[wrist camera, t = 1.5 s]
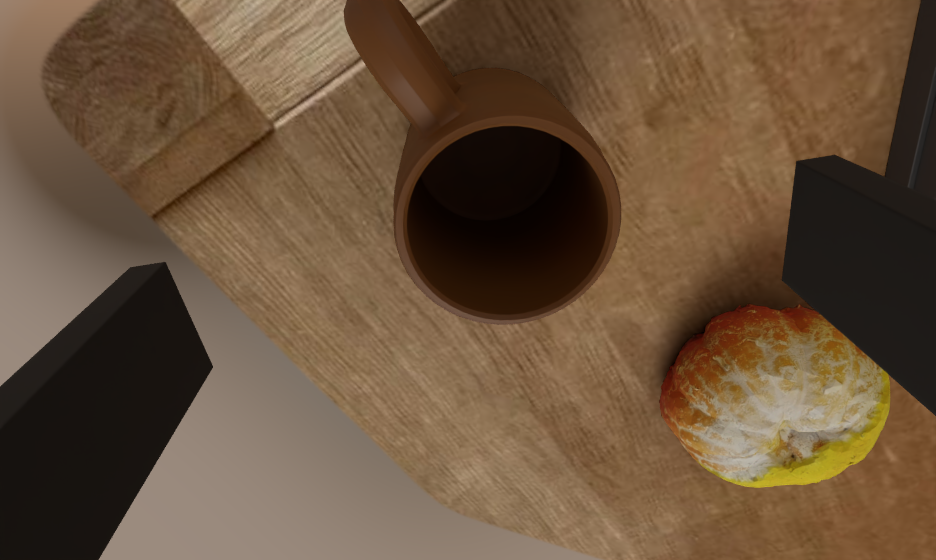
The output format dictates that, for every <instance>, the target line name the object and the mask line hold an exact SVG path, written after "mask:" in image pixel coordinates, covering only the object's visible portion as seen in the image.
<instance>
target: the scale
mask: <svg viewBox="0 0 936 560" xmlns="http://www.w3.org/2000/svg"><path fill="white" fill-rule="evenodd" d="M885 177H886V178H888V179H890V180H893V181H895V182H897V183H899V184H902V185H904V186H906V187H909V188H911V189H913V190H915V191H918V192H920V193H922V194H924V195H927V196H929V197H931V198H933V199H936V0H922V1H921V6H920V10H919V15H918V20H917V25H916V30H915V34H914V39H913V44H912V49H911V54H910V58H909V63H908V68H907V73H906V78H905V82H904V87H903V92H902V97H901V102H900V106H899V111H898V116H897V121H896V126H895V131H894V135H893V140H892V145H891V150H890V155H889V159H888V164H887V169H886V174H885Z"/></svg>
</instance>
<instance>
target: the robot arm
mask: <svg viewBox="0 0 936 560" xmlns="http://www.w3.org/2000/svg"><path fill="white" fill-rule="evenodd" d="M782 281H783V282H784V283H785V284H787V285H788V286H789V287H790V288H791V289H792V290H793V291H794V292H796V293H797V294H798V295H799V296H800V297H801V298H802V299H804V300H805V301H806V302H807V303H808V304H809V305H810V306H811V307H813V308H814V309H815V310H816V311H817V312H818V313H819V314H821V315H822V316H823V317H824V318H825V319H826V320H827V321H828V322H830V323H831V324H832V325H833V326H834V327H835V328H836V329H838V330H839V331H840V332H841V333H842V334H843V335H844V336H846V337H847V338H848V339H849V340H850V341H851V342H852V343H853V344H855V345H856V346H857V347H858V348H859V349H860V350H861V351H863V352H864V353H865V354H866V355H867V356H868V357H869V358H870V359H872V360H873V361H874V362H875V363H876V364H877V365H878V366H880V367H881V368H882V369H883V370H884V371H885V372H886V373H888V374H889V375H890V376H891V377H892V378H893V379H894V380H895V381H897V382H898V383H899V384H900V385H901V386H902V387H903V388H905V389H906V390H907V391H908V392H909V393H910V394H911V395H912V396H914V397H915V398H916V399H917V400H918V401H919V402H920V403H922V404H923V405H924V406H925V407H926V408H927V409H928V410H929V411H931V412H932V413H933V414H934V415H935V416H936V199H933V198H931V197H929V196H927V195H924V194H922V193H920V192H918V191H915V190H913V189H911V188H909V187H906V186H904V185H902V184H899V183H897V182H895V181H893V180H890V179H888V178H886V177H884V176H881V175H879V174H877V173H875V172H872V171H870V170H868V169H866V168H863V167H861V166H859V165H857V164H854V163H852V162H850V161H847V160H845V159H843V158H841V157H838V156H836V155H831V156H825V157H819V158H813V159H806V160H800V161H796V169H795V177H794V185H793V193H792V201H791V209H790V217H789V225H788V234H787V242H786V250H785V258H784V266H783V274H782ZM212 368H213V366H212V363H211V361H210V359H209V357H208V354H207V352H206V350H205V348H204V346H203V343H202V341H201V339H200V337H199V335H198V332H197V330H196V328H195V326H194V324H193V322H192V319H191V317H190V315H189V313H188V311H187V308H186V306H185V304H184V302H183V299H182V297H181V295H180V293H179V291H178V289H177V286H176V284H175V282H174V280H173V278H172V275H171V273H170V271H169V269H168V267H167V264H166V262H162V263H155V264H150V265H143V266H136V267H130V268H129V269H128V270H127V271H126V272H125V273H124V274H123V275H121V276H120V277H119V278H118V279H117V280H116V281H115V282H114V283H113V284H112V285H111V286H109V287H108V288H107V289H106V290H105V291H104V292H103V293H102V294H101V295H100V296H99V297H97V298H96V299H95V300H94V301H93V302H92V303H91V304H90V305H89V306H88V307H87V308H85V309H84V310H83V311H82V312H81V313H80V314H79V315H78V316H77V317H76V318H75V319H73V320H72V321H71V322H70V323H69V324H68V325H67V326H66V327H65V328H64V329H62V330H61V331H60V332H59V333H58V334H57V335H56V336H55V337H54V338H53V339H52V340H50V342H49V343H47V344H46V345H45V346H44V347H43V348H42V349H41V350H40V351H39V352H37V353H36V354H35V355H34V356H33V357H32V358H31V359H30V360H29V361H28V362H27V363H25V364H24V365H23V366H22V367H21V368H20V369H19V370H18V371H17V372H16V373H14V375H12V376H11V377H10V378H9V379H8V380H7V381H6V382H5V383H4V384H3V385H1V386H0V560H99V558H100V556H101V555H102V553H103V551H104V550H105V548H106V546H107V544H108V543H109V541H110V539H111V538H112V536H113V534H114V533H115V531H116V529H117V528H118V526H119V524H120V523H121V521H122V519H123V517H124V516H125V514H126V512H127V511H128V509H129V508H130V506H131V504H132V502H133V501H134V499H135V497H136V496H137V494H138V492H139V491H140V489H141V487H142V486H143V484H144V482H145V481H146V479H147V477H148V476H149V474H150V472H151V471H152V469H153V467H154V465H155V464H156V462H157V460H158V459H159V457H160V455H161V454H162V452H163V450H164V448H165V447H166V445H167V444H168V442H169V440H170V439H171V437H172V435H173V434H174V432H175V430H176V428H177V427H178V425H179V423H180V422H181V420H182V418H183V417H184V415H185V413H186V412H187V410H188V408H189V407H190V405H191V403H192V402H193V400H194V398H195V397H196V395H197V393H198V392H199V390H200V388H201V386H202V385H203V383H204V381H205V380H206V378H207V376H208V375H209V373H210V371H211V370H212Z"/></svg>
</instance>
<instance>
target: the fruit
mask: <svg viewBox="0 0 936 560" xmlns="http://www.w3.org/2000/svg"><path fill="white" fill-rule="evenodd" d="M663 382H664V383H663V384H662V386H661V389H662V393H661V397H660V400H659V403H660V410H661V416H662V417H663V418H664V420H665V422H666V423H667V425H668V426H669V427H670V429H671V430H672V431H673V433H674V434H675V435H676V436H677V437H678V439H679V441H680V442H681V444H682V445H683V447H684V448H685V449H686V450H687V451H688V452H689V454H690V455H691V456H692V457H693V458H694V459H695V460H696V461H697V462H698V463H699V464H700V465H702V466H703V467H704V468H706V469H707V470H708V471H710V472H711V473H713V474H715V475H716V476H718V477H720V478H722V479H724V480H726V481H729V482H732V483H735V484H738V485H742V486H746V487H756V488H760V487H772V486H775V485H792V484H799V485H805V484H809V483H813V482H815V483H818V482H819V481H821V480H824V479H830V478H831V477H832V476H835V477H836V475H837V474H839V473H840V472H842V471H843V470H844V469H845V468H847V467H848V466H849V465H851V464H856V463H858V462H859V461H861V460H863V459H864V458H865V456H866V455H867V453H868V452H869V451H870V450H871V449H872V448H873V446H874V444H875V442H876V440H877V438H878V437H879V434H880V431H881V430H882V429H883V427H884V424H885V421H886V418H887V415H888V413H889V407H890V383H889V375H888V373H886V372H885V371H884V370H883V369H882V368H881V367H880V366H878V365H877V364H876V363H875V362H874V361H873V360H872V359H870V358H869V357H868V356H867V355H866V354H865V353H864V352H863V351H861V350H860V349H859V348H858V347H857V346H856V345H855V344H853V343H852V342H851V341H850V340H849V339H848V338H847V337H846V336H844V335H843V334H842V333H841V332H840V331H839V330H838V329H836V328H835V327H834V326H833V325H832V324H831V323H830V322H828V321H827V320H826V319H825V318H824V317H823V316H822V315H821V314H819V313H818V312H817V311H813V310H810V309H808V308H803V307H802V306H801V305H800V304H799V305H797V306H796V307H795V308H790V307H789V308H788V307H786V308H784V309H781V310H774V309H770V308H768V307H765V306H756V305H752V304H747V305H746V306H745V307H743V308H741V305H739V306H738V307H737V308H736V309H735V310H734V311H729V312H726V313H723V314H720V315H718V316H714V317H713V318H711V321H710V322H709V324H707V325H706V328H705V333H704V334H693V337H691V338H690V339H689V340H688V341H687V342H686V343H685V345H684V346H683V347H682V351H680V353H679V355H678V356H677V359H676V362H675V363H674V365H671V366H670V367H669V371H668V373H667V377H666V378H665V380H664V381H663Z"/></svg>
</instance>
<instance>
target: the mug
mask: <svg viewBox="0 0 936 560" xmlns="http://www.w3.org/2000/svg"><path fill="white" fill-rule="evenodd" d="M344 20H345V25H346V29H347V32H348V34H349V36H350V38H351V40H352V42H353V44H354V46H355V48H356V50H357V51H358V53H359V55H360V56H361V58H362V60H363V61H364V63H365V64H366V66H367V67H368V69H369V70H370V72H371V73H372V75H373V76H374V78H375V79H376V81H377V82H378V83H379V85H380V86H381V87H382V89H383V90H384V91H385V92H386V94H387V95H388V96H389V97H390V98H391V100H392V101H393V102H394V103H395V104H396V106H397V107H398V108H399V109H400V110H401V112H402V113H403V114H404V115H405V116H406V118H407V119H408V120H409V121H410V122H411V125H410V128H409V131H408V134H407V139H406V142H405V146H404V149H403V153H402V158H401V162H400V166H399V171H398V175H397V180H396V185H395V191H394V204H393V206H394V236H395V241H396V246H397V250H398V253H399V256H400V258H401V261H402V263H403V265H404V267H405V269H406V271H407V273H408V275H409V276H410V277H411V279H412V280H413V282H414V283H415V284H416V286H417V287H418V288H419V289H420V290H421V291H422V292H423V293H424V294H425V295H426V296H427V297H428V298H430V299H431V300H432V301H433V302H435V303H436V304H437V305H439V306H441V307H442V308H444V309H445V310H447V311H449V312H451V313H453V314H455V315H457V316H459V317H462V318H466V319H469V320H472V321H476V322H481V323H487V324H498V325H499V324H517V323H525V322H529V321H533V320H537V319H540V318H543V317H546V316H548V315H551V314H553V313H555V312H557V311H559V310H561V309H563V308H565V307H566V306H568V305H569V304H571V303H572V302H574V301H575V300H576V299H578V298H579V297H580V296H581V295H583V294H584V293H585V292H586V291H587V290H588V289H589V288H590V287H591V286H592V285H593V284H594V283H595V281H596V280H597V279H598V277H599V276H600V275H601V274H602V272H603V271H604V269H605V267H606V265H607V264H608V262H609V260H610V258H611V256H612V253H613V251H614V249H615V246H616V243H617V239H618V236H619V231H620V224H621V202H620V195H619V190H618V186H617V183H616V180H615V177H614V175H613V173H612V171H611V168H610V166H609V164H608V162H607V161H606V159H605V158H604V156H603V154H602V152H601V150H600V148H599V147H598V145H597V144H596V142H595V141H594V139H593V138H592V136H591V135H590V134H589V133H588V131H587V130H586V129H585V128H584V127H583V126H582V125H581V124H580V123H579V121H578V120H577V119H576V118H575V117H574V116H573V115H572V114H571V113H570V112H569V111H568V110H567V109H566V108H565V106H564V105H563V104H562V103H560V102H559V101H558V100H557V99H556V98H555V97H554V96H553V95H552V94H551V93H550V92H549V91H548V90H547V89H546V88H545V87H543V86H542V85H541V84H539V83H538V82H536V81H535V80H533V79H531V78H530V77H528V76H525V75H523V74H521V73H518V72H515V71H511V70H507V69H500V68H482V69H475V70H471V71H467V72H464V73H461V74H459V75H456V76H454V77H453V75H452V74H451V73H450V71H449V70H448V68H447V67H446V65H445V64H444V62H443V61H442V59H441V58H440V56H439V55H438V53H437V52H436V50H435V49H434V47H433V46H432V44H431V43H430V41H429V40H428V38H427V37H426V35H425V34H424V32H423V31H422V30H421V28H420V27H419V25H418V24H417V22H416V21H415V20H414V18H413V17H412V16H411V14H410V13H409V12H408V10H407V9H406V8H405V7H404V5H403V4H402V3H401V2H400V1H399V0H347V2H346V5H345V8H344Z"/></svg>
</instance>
